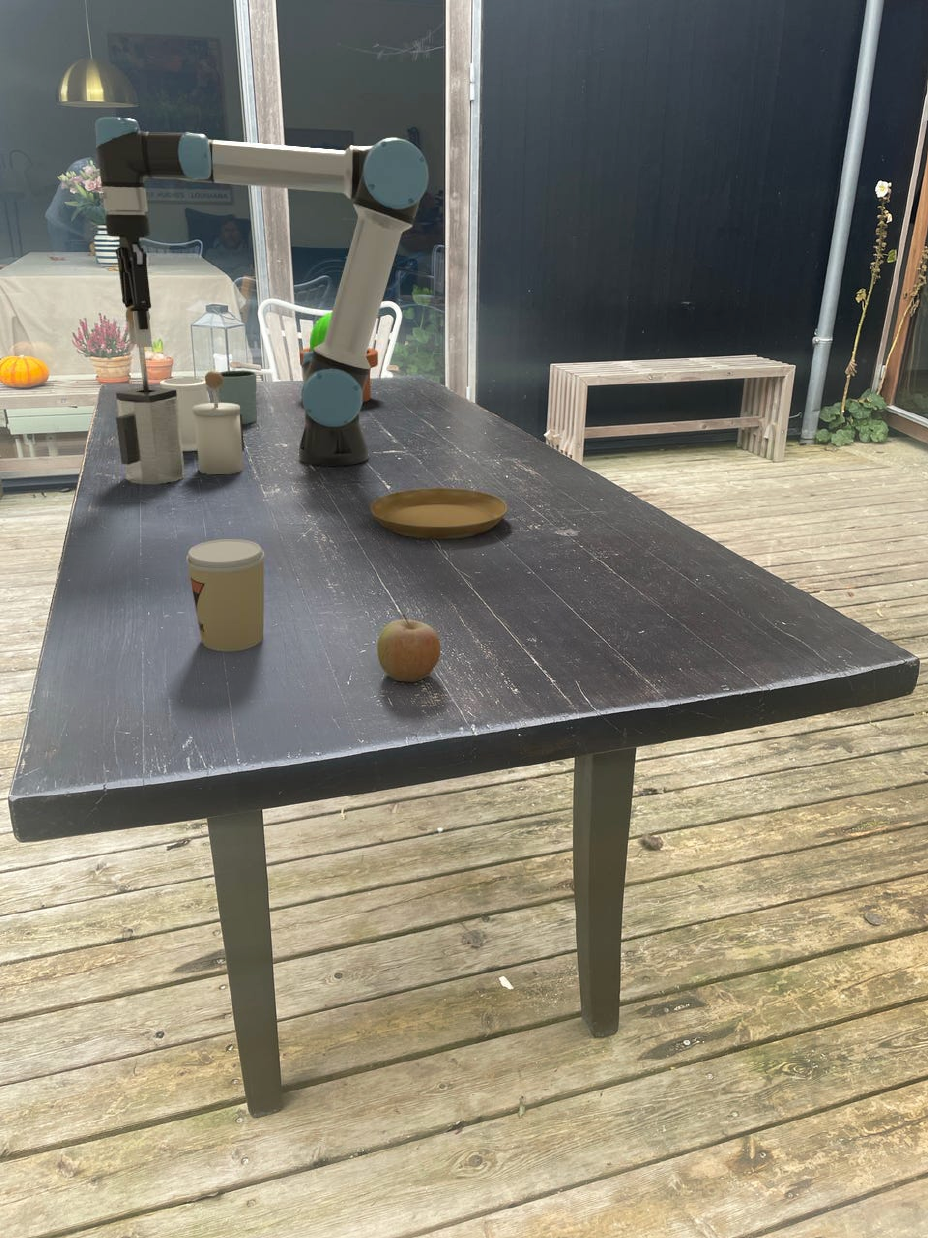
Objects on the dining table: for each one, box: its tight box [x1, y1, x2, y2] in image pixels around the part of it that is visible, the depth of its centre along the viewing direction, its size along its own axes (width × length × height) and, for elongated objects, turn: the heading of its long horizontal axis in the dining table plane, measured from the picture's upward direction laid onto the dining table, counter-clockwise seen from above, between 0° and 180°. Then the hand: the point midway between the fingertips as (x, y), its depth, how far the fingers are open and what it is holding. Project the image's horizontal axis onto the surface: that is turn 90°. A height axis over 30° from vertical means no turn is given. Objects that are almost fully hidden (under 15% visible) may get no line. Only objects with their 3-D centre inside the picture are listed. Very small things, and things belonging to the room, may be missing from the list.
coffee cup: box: [185, 538, 265, 653], centre depth 119 cm, size 9×9×12 cm
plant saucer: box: [369, 487, 508, 540], centre depth 169 cm, size 24×24×3 cm
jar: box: [160, 377, 211, 452], centre depth 214 cm, size 11×10×15 cm
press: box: [115, 386, 186, 485], centre depth 189 cm, size 11×14×17 cm
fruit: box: [376, 612, 441, 683], centre depth 111 cm, size 8×7×8 cm
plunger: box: [125, 305, 151, 393], centre depth 184 cm, size 8×8×21 cm
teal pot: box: [217, 370, 258, 425], centre depth 243 cm, size 10×10×12 cm
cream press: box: [193, 370, 245, 475], centre depth 197 cm, size 9×12×20 cm
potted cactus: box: [299, 310, 379, 404], centre depth 270 cm, size 22×22×25 cm
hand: (141, 344), depth 183 cm, fingers closed on plunger, 4 cm apart
